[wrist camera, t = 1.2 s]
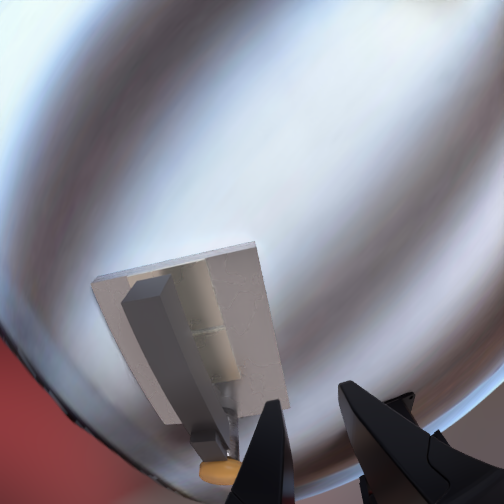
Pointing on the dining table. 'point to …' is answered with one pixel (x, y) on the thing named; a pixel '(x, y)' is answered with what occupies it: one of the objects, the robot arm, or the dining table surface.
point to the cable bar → (181, 373)
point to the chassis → (209, 330)
